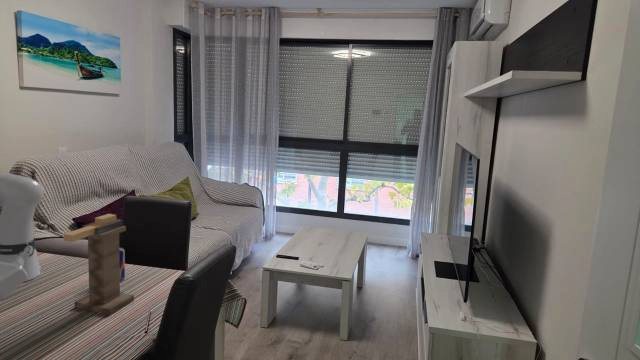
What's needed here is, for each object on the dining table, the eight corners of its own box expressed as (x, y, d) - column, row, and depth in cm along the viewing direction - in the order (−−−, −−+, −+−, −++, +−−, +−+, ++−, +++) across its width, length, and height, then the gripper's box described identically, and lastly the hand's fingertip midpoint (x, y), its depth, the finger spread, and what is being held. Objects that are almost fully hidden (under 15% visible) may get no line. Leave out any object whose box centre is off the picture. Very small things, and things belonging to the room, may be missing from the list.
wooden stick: (63, 240, 121) (63, 227, 120) (108, 225, 138) (108, 213, 137) (72, 241, 120) (71, 228, 119) (116, 226, 137) (116, 214, 136)
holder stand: (74, 307, 134) (72, 224, 130) (100, 293, 145) (98, 216, 140) (110, 315, 131) (109, 230, 126) (133, 300, 142) (133, 221, 137)
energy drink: (118, 283, 154) (118, 253, 152) (106, 281, 155) (105, 251, 153) (127, 277, 159) (127, 248, 157) (115, 275, 160) (115, 246, 158)
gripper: (-63, 294, 99) (-12, 253, 110) (1, 309, 94) (48, 265, 105) (-79, 276, 96) (-25, 236, 106) (-14, 291, 90) (36, 247, 101)
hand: (11, 250), depth 105 cm, fingers open, 8 cm apart
